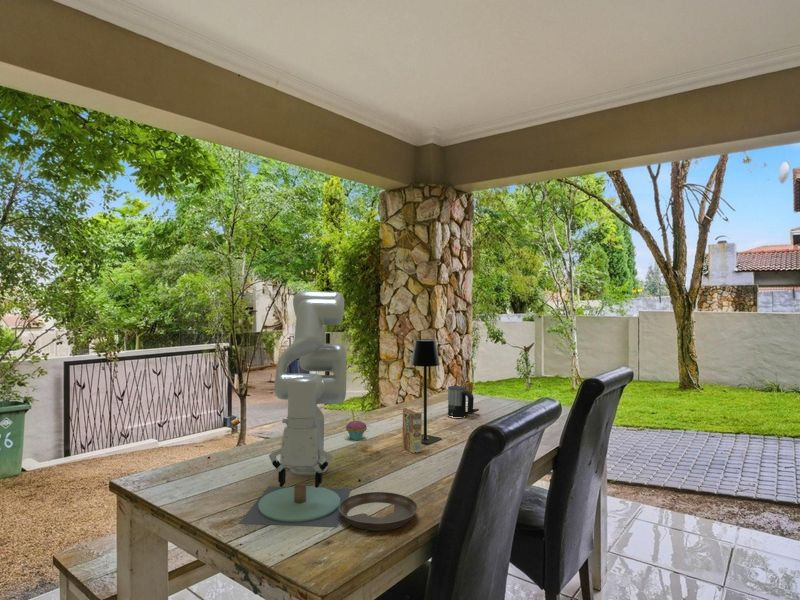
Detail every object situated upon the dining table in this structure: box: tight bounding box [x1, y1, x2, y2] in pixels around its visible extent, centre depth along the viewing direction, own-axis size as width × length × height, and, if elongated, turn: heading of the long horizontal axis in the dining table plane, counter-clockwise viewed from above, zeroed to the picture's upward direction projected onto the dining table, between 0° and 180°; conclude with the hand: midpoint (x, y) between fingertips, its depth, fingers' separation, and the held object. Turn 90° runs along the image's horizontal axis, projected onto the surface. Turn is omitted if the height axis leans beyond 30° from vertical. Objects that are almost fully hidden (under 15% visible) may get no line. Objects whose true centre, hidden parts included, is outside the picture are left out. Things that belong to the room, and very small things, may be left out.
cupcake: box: [345, 409, 368, 441], centre depth 204 cm, size 9×8×12 cm
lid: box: [259, 482, 340, 523], centre depth 136 cm, size 22×22×5 cm
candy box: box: [402, 407, 423, 454], centre depth 190 cm, size 9×4×15 cm, turn 26°
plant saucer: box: [339, 491, 418, 532], centre depth 130 cm, size 21×21×3 cm
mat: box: [238, 485, 352, 528], centre depth 136 cm, size 25×25×1 cm
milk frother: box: [447, 385, 480, 417], centre depth 248 cm, size 14×16×15 cm
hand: (300, 485), depth 135 cm, fingers open, 9 cm apart
